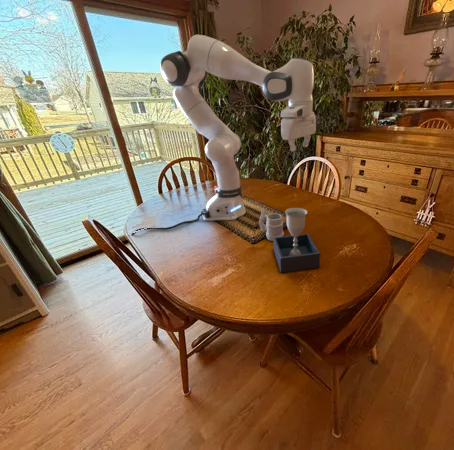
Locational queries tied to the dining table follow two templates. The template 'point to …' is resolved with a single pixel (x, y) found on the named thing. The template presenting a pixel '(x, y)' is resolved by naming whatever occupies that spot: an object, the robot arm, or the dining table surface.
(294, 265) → the bin
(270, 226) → the mug
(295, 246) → the chalice
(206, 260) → the dining table surface
